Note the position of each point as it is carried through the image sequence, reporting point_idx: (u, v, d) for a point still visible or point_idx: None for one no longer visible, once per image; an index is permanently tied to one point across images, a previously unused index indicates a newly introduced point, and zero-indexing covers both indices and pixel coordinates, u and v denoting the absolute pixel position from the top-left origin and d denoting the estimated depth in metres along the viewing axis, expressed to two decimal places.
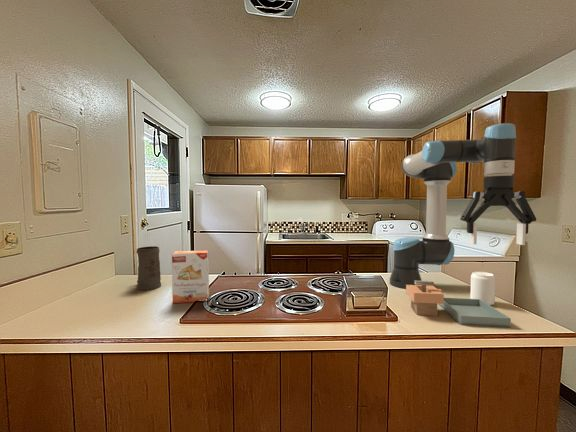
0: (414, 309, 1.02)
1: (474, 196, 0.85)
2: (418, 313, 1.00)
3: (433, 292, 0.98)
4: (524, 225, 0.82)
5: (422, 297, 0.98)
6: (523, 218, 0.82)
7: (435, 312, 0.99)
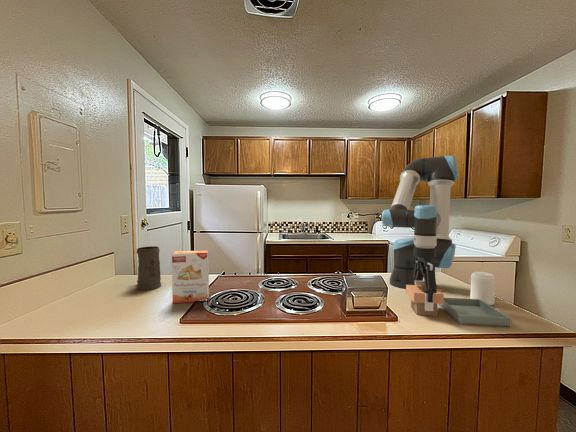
0: (414, 309, 1.02)
1: None
2: (418, 313, 1.00)
3: None
4: (425, 293, 0.97)
5: (422, 297, 0.98)
6: (425, 287, 0.97)
7: (435, 312, 0.99)
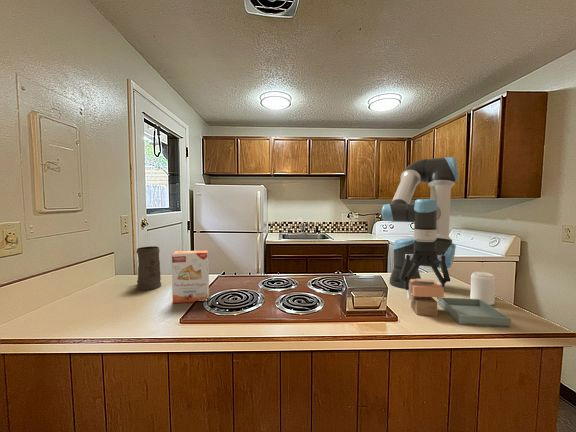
0: (414, 309, 1.02)
1: (406, 258, 1.02)
2: (418, 313, 1.00)
3: None
4: (440, 284, 1.00)
5: None
6: (440, 278, 1.00)
7: (435, 312, 0.99)
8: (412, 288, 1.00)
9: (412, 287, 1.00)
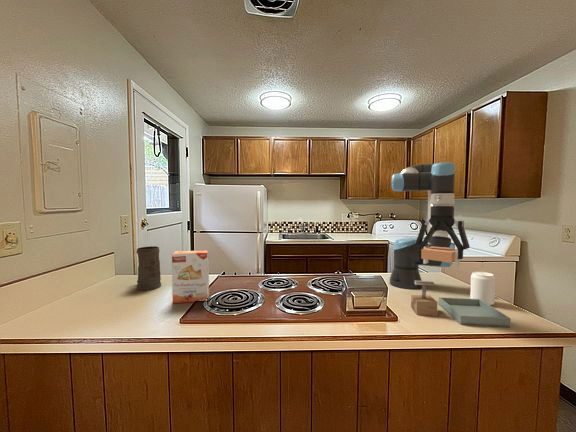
0: (414, 309, 1.02)
1: None
2: (418, 313, 1.00)
3: (453, 249, 0.99)
4: (456, 251, 0.95)
5: (454, 256, 0.95)
6: (456, 245, 0.95)
7: (435, 312, 0.99)
8: None
9: None
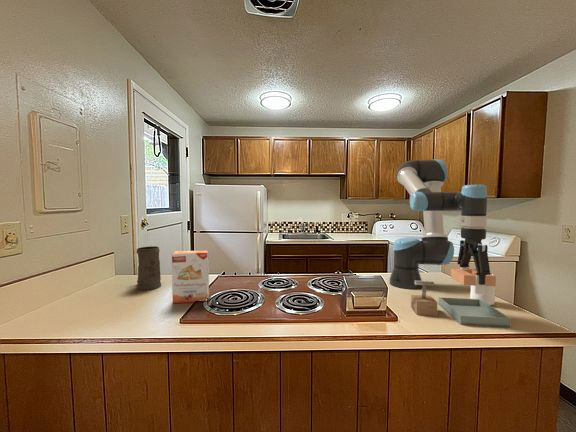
0: (414, 309, 1.02)
1: None
2: (418, 313, 1.00)
3: None
4: (476, 276, 0.93)
5: (472, 279, 0.94)
6: (476, 269, 0.93)
7: (435, 312, 0.99)
8: None
9: None
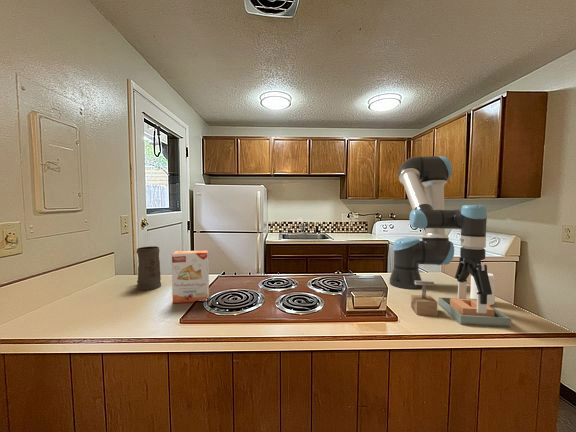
0: (414, 309, 1.02)
1: None
2: (418, 313, 1.00)
3: None
4: (477, 295, 0.92)
5: (471, 313, 0.95)
6: (478, 288, 0.92)
7: (435, 312, 0.99)
8: None
9: None
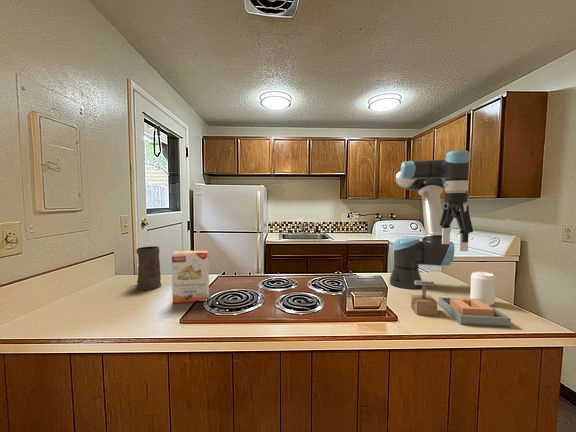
0: (414, 309, 1.02)
1: None
2: (418, 313, 1.00)
3: (482, 307, 0.95)
4: (459, 234, 0.98)
5: (471, 313, 0.95)
6: (460, 228, 0.98)
7: (435, 312, 0.99)
8: None
9: None
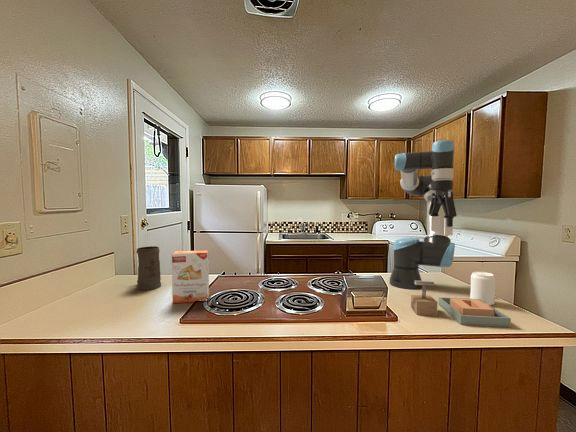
0: (414, 309, 1.02)
1: None
2: (418, 313, 1.00)
3: (482, 307, 0.95)
4: (444, 219, 1.02)
5: (471, 313, 0.95)
6: (445, 213, 1.02)
7: (435, 312, 0.99)
8: None
9: None
